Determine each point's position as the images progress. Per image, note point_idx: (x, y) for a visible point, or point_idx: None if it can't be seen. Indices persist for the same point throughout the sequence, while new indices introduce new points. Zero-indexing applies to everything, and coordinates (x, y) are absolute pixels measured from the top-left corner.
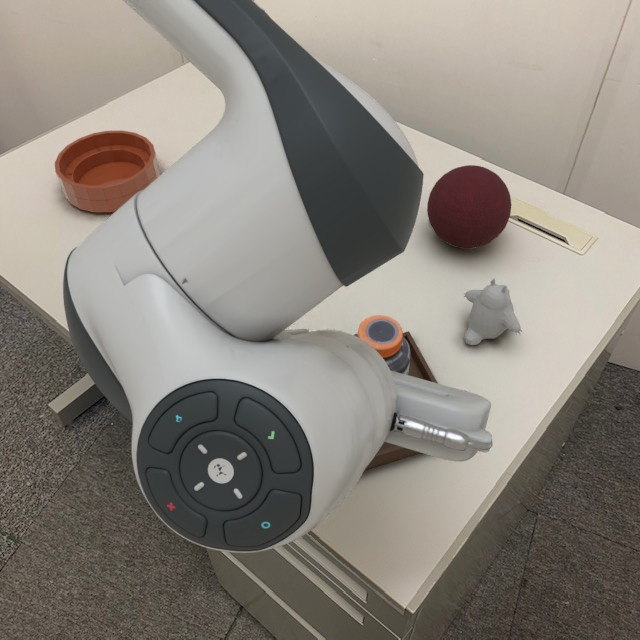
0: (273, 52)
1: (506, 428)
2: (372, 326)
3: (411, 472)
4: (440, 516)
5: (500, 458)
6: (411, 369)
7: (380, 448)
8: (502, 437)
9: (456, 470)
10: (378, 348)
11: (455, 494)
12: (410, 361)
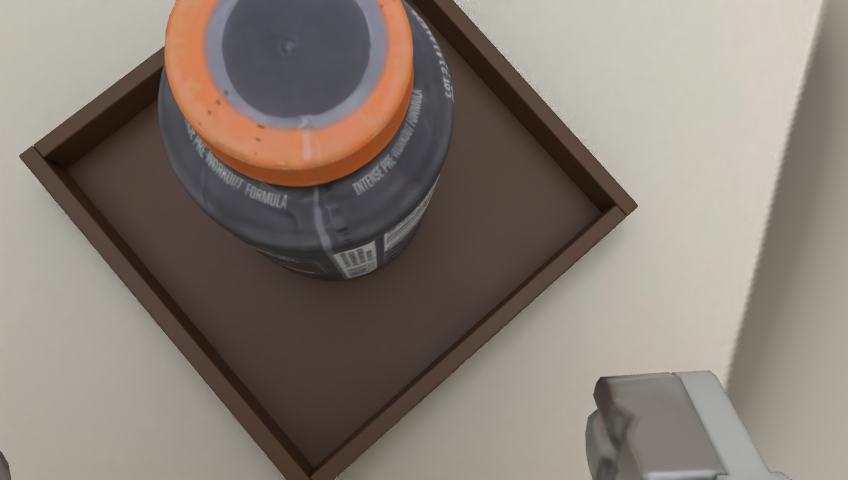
0: None
1: (724, 130)
2: (236, 29)
3: (517, 374)
4: None
5: (735, 232)
6: None
7: (409, 342)
8: (722, 163)
9: (634, 317)
10: (317, 161)
11: None
12: None
